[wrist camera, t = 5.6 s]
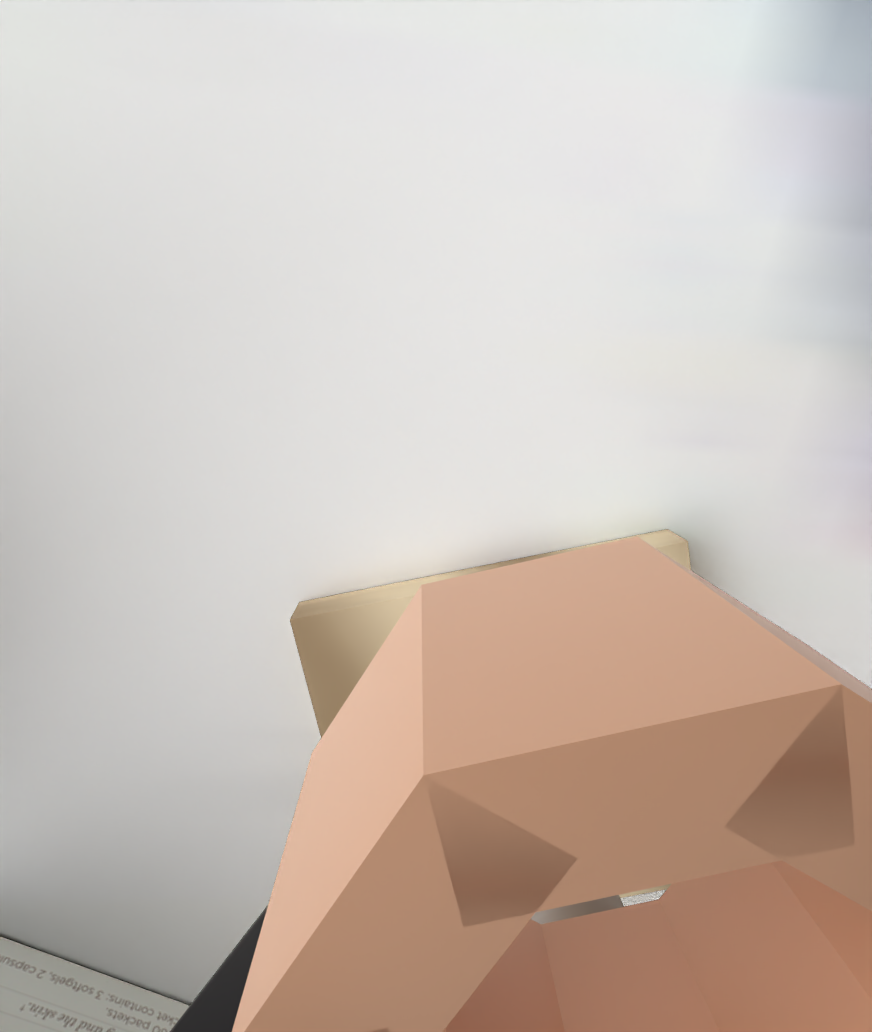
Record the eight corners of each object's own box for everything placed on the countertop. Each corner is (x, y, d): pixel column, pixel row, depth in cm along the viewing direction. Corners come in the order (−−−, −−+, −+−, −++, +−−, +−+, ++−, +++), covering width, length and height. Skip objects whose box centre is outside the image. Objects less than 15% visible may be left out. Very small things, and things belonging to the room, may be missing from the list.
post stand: (379, 907, 22) (356, 1218, 14) (299, 601, 20) (214, 762, 11) (704, 845, 22) (875, 1122, 14) (667, 529, 20) (851, 639, 11)
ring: (395, 1024, 10) (379, 1459, 6) (270, 618, 8) (134, 837, 4) (834, 933, 10) (1123, 1317, 6) (791, 501, 8) (1145, 617, 4)
